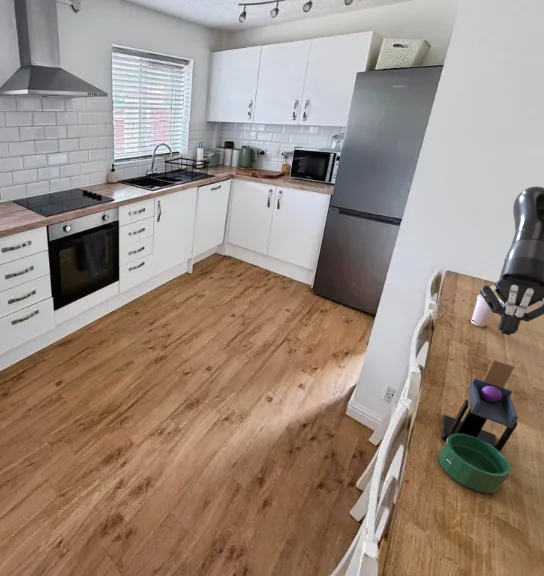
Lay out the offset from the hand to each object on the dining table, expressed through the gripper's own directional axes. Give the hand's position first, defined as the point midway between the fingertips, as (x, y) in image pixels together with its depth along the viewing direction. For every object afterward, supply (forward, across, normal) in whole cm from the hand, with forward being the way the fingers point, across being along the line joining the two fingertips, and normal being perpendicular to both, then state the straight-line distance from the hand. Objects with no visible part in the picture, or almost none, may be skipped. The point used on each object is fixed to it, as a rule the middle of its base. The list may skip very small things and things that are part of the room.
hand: (506, 333), depth 78 cm
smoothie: (-23, +3, +52) cm, 57 cm away
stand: (+24, 0, +5) cm, 24 cm away
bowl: (+31, 0, -2) cm, 31 cm away
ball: (+14, 0, -2) cm, 15 cm away
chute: (+18, 0, -3) cm, 18 cm away
